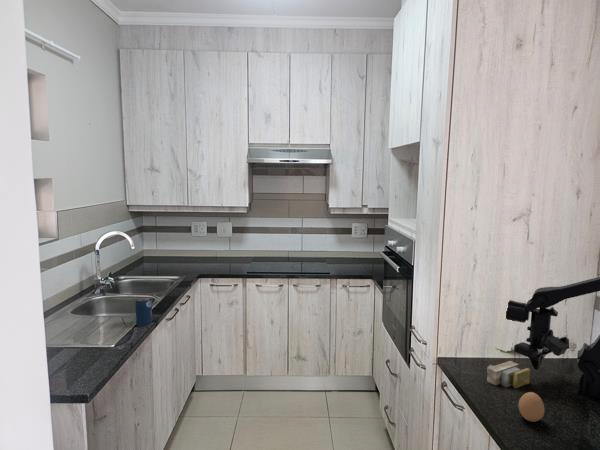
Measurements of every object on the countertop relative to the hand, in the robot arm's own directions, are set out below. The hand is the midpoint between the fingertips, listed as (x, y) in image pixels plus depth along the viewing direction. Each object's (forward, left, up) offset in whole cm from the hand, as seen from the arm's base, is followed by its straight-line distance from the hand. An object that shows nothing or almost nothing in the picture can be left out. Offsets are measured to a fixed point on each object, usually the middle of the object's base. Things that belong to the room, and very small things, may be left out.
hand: (536, 369), depth 139 cm
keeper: (0, +8, -4) cm, 9 cm away
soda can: (+111, +113, -4) cm, 158 cm away
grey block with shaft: (+7, +10, -4) cm, 13 cm away
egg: (-13, +24, -4) cm, 28 cm away
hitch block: (+5, +10, -4) cm, 12 cm away
